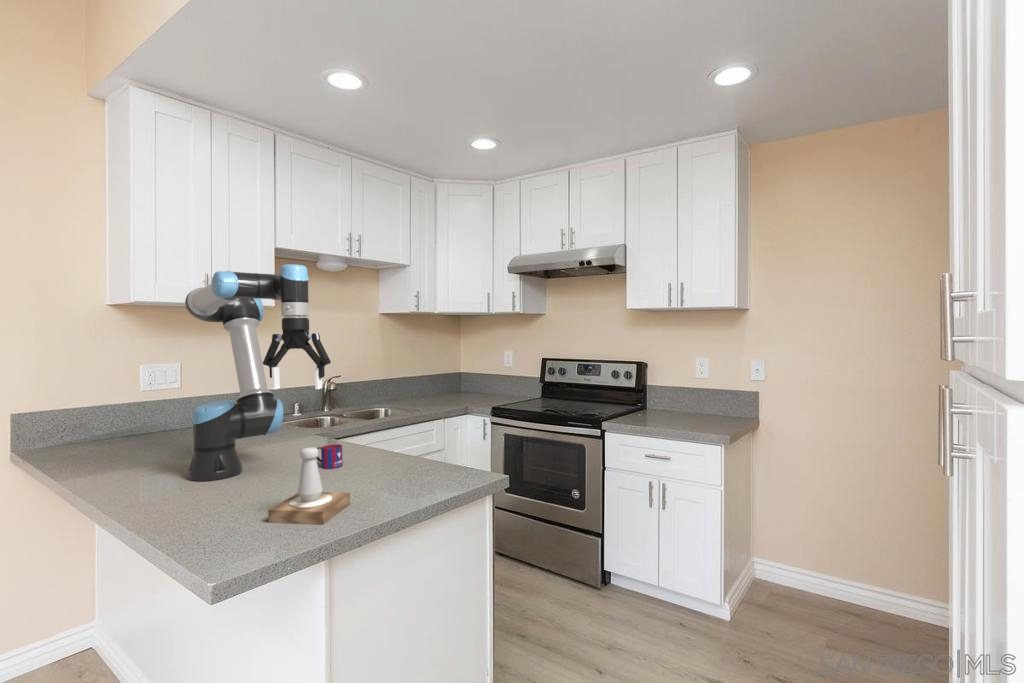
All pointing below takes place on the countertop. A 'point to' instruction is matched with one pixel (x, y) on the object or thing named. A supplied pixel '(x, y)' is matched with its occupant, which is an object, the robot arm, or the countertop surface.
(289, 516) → the stand
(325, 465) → the mug
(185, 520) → the countertop surface
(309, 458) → the salt shaker
